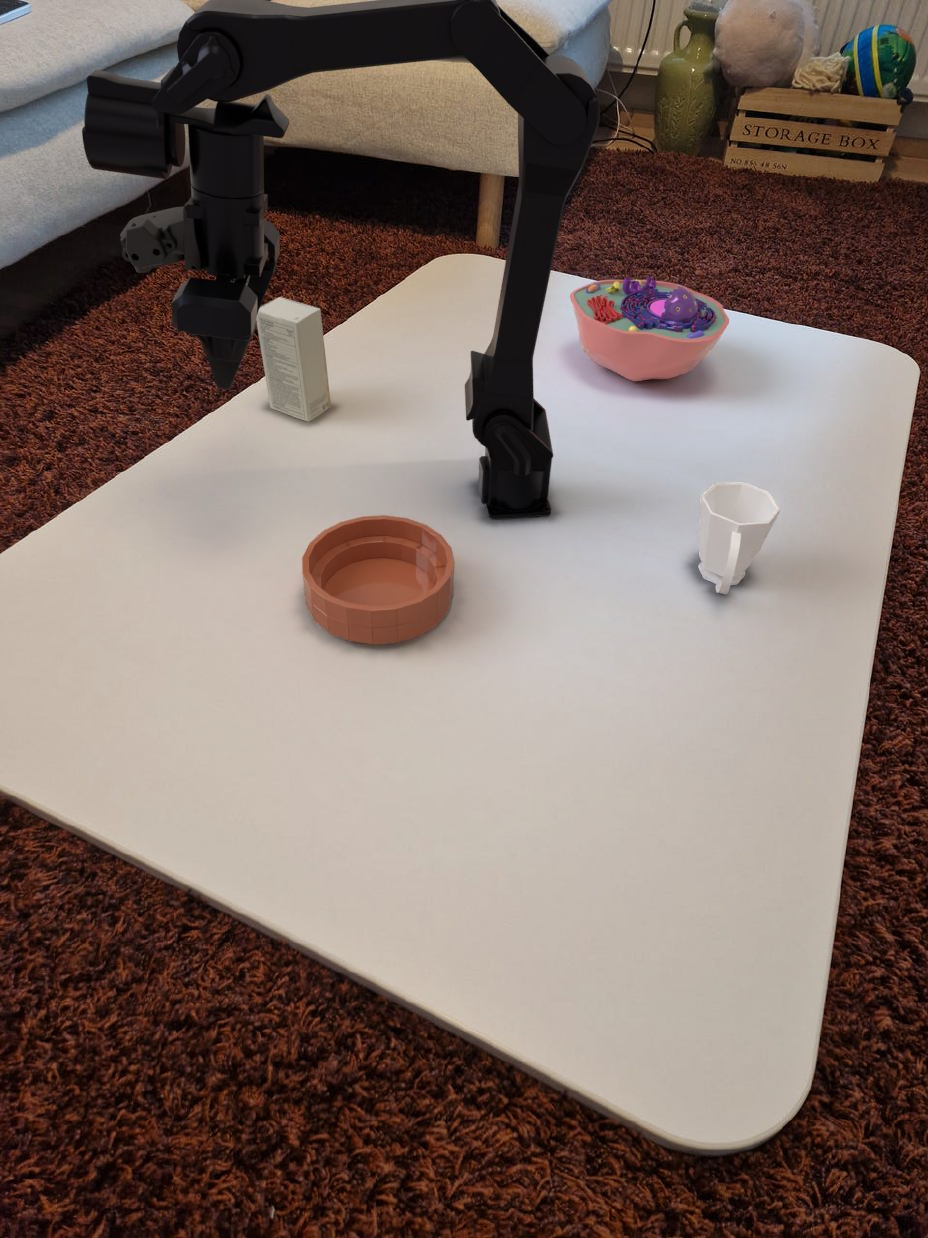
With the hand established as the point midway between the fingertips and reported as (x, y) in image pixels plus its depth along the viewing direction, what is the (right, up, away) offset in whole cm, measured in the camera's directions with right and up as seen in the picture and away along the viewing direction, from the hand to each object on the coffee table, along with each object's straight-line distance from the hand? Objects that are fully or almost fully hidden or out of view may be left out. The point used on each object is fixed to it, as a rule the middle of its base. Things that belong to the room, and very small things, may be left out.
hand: (232, 363), depth 84 cm
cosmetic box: (+2, +1, +24) cm, 24 cm away
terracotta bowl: (+14, -22, -1) cm, 26 cm away
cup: (+45, -20, +2) cm, 50 cm away
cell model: (+44, +8, +33) cm, 55 cm away
